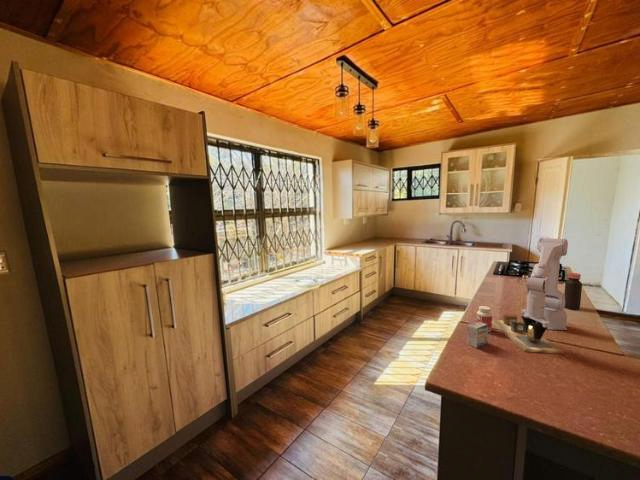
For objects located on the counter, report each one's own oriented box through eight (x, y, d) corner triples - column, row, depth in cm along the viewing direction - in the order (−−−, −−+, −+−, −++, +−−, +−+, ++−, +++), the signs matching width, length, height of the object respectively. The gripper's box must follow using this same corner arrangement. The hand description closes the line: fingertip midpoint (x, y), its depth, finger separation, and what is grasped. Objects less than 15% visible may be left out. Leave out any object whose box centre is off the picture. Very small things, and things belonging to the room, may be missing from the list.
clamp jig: (519, 322, 131) (520, 312, 130) (563, 353, 103) (564, 340, 103) (489, 321, 133) (490, 312, 132) (524, 351, 105) (525, 339, 105)
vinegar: (566, 309, 145) (569, 274, 143) (560, 305, 151) (563, 272, 149) (582, 311, 142) (585, 275, 140) (576, 306, 149) (579, 272, 146)
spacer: (535, 337, 112) (537, 324, 111) (543, 342, 108) (544, 328, 107) (524, 336, 113) (525, 323, 112) (531, 341, 108) (532, 328, 108)
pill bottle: (493, 330, 124) (494, 308, 123) (487, 333, 121) (488, 311, 119) (479, 325, 129) (480, 304, 128) (473, 328, 126) (474, 307, 124)
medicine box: (476, 348, 109) (477, 328, 108) (466, 343, 113) (466, 324, 112) (487, 343, 112) (488, 324, 111) (477, 339, 116) (478, 320, 115)
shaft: (514, 323, 128) (514, 315, 127) (526, 331, 119) (526, 323, 118) (503, 322, 128) (503, 315, 128) (514, 331, 120) (514, 322, 119)
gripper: (514, 299, 116) (513, 328, 118) (537, 311, 102) (534, 344, 104) (532, 299, 115) (530, 328, 117) (557, 312, 101) (554, 345, 103)
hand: (533, 336), depth 110 cm, fingers closed on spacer, 4 cm apart
